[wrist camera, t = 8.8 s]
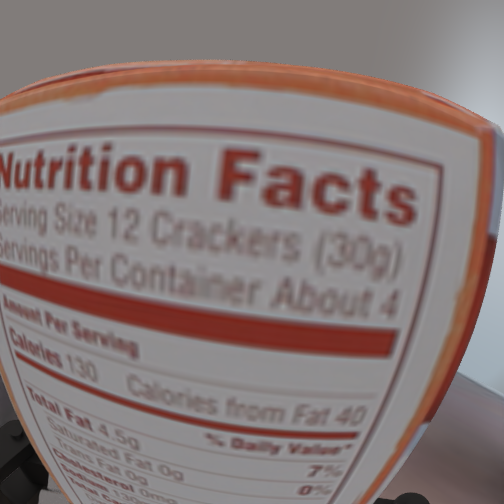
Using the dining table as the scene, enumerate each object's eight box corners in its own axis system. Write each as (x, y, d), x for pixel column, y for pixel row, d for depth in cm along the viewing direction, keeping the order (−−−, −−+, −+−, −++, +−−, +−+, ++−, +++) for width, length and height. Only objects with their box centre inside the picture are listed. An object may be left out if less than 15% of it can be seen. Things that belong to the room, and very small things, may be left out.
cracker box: (195, 442, 20) (213, 158, 16) (270, 455, 20) (326, 171, 15) (141, 587, 6) (-27, 82, 2) (251, 610, 6) (531, 105, 1)
